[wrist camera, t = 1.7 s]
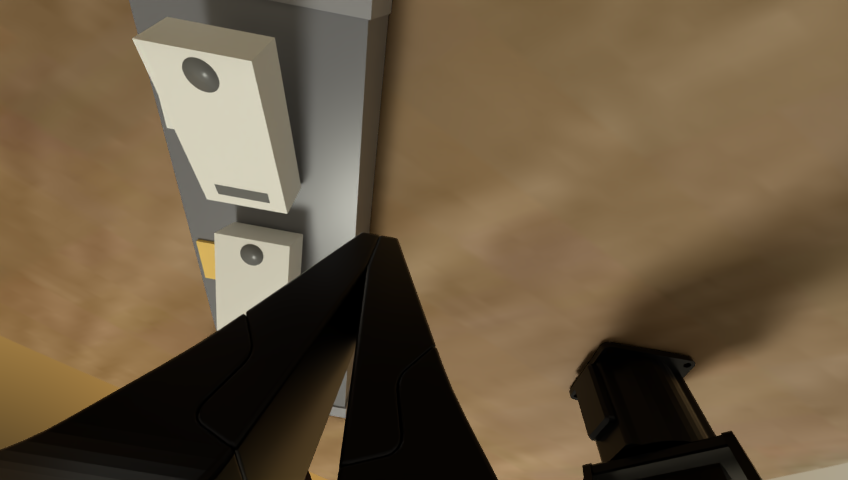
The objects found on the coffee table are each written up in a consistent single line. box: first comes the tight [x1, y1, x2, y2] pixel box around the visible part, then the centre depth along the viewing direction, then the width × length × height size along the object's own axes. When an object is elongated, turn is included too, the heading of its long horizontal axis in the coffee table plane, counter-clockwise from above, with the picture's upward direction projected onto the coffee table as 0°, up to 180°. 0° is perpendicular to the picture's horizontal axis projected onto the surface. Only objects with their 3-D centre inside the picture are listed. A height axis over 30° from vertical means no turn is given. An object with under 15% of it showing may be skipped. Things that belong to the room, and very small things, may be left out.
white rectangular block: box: [132, 17, 301, 214], centre depth 12 cm, size 3×6×2 cm, turn 171°
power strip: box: [129, 0, 392, 418], centre depth 18 cm, size 8×34×4 cm, turn 171°
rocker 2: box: [214, 222, 303, 331], centre depth 17 cm, size 3×6×2 cm, turn 171°
